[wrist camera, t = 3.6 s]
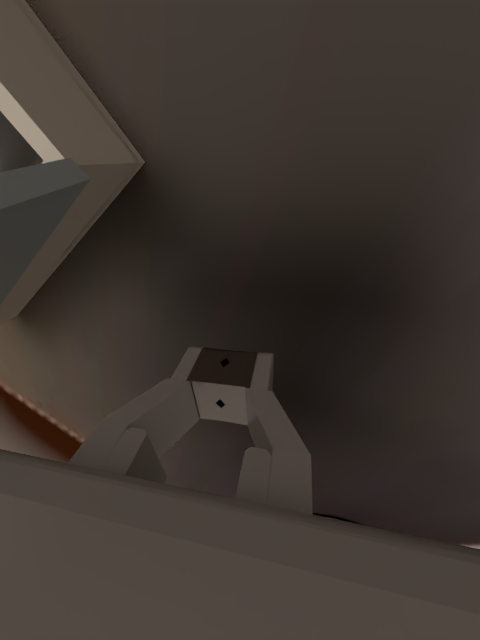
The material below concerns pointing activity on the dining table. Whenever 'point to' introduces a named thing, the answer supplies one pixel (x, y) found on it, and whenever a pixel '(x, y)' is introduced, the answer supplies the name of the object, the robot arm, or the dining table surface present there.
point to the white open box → (54, 137)
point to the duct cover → (33, 212)
